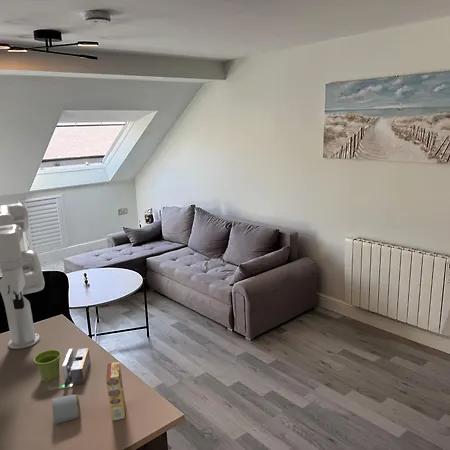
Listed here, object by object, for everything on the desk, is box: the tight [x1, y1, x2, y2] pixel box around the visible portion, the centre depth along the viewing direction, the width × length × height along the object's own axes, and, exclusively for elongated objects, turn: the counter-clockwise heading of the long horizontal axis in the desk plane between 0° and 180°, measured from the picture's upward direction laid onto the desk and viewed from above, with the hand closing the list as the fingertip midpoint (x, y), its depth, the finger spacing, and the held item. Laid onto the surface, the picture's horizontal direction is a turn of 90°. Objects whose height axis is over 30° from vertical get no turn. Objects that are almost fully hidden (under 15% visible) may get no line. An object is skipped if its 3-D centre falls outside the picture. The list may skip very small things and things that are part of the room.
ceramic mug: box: [51, 394, 82, 425], centre depth 134 cm, size 11×8×8 cm
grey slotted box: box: [48, 347, 91, 391], centre depth 156 cm, size 12×16×6 cm
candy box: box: [105, 361, 126, 422], centre depth 134 cm, size 9×4×15 cm, turn 13°
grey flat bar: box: [62, 348, 75, 386], centre depth 156 cm, size 4×14×7 cm, turn 9°
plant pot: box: [33, 349, 62, 382], centre depth 156 cm, size 9×9×9 cm
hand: (19, 307), depth 158 cm, fingers closed
